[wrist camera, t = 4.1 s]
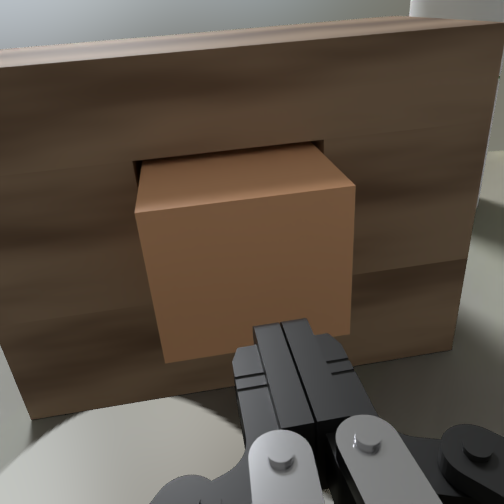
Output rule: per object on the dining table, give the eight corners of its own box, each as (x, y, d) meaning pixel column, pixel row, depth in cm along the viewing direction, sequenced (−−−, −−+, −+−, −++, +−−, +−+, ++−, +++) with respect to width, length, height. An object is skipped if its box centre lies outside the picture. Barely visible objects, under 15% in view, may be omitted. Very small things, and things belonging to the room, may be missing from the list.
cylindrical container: (422, 181, 47) (456, -134, 35) (493, 199, 42) (560, -160, 31) (378, 202, 44) (400, -143, 32) (451, 224, 39) (510, -175, 27)
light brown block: (349, 334, 18) (355, 185, 15) (165, 363, 17) (134, 212, 14) (298, 241, 25) (296, 127, 22) (165, 259, 24) (145, 143, 21)
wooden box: (451, 349, 26) (507, 22, 18) (31, 419, 23) (-110, 77, 16) (379, 261, 34) (396, 15, 27) (68, 305, 32) (-11, 50, 24)
